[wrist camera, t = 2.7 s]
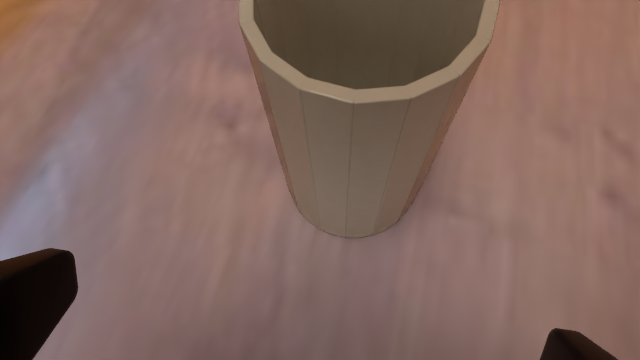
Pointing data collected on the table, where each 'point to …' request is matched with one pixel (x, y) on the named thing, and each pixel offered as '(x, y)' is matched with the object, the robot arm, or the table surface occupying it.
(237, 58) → the table surface
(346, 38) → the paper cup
